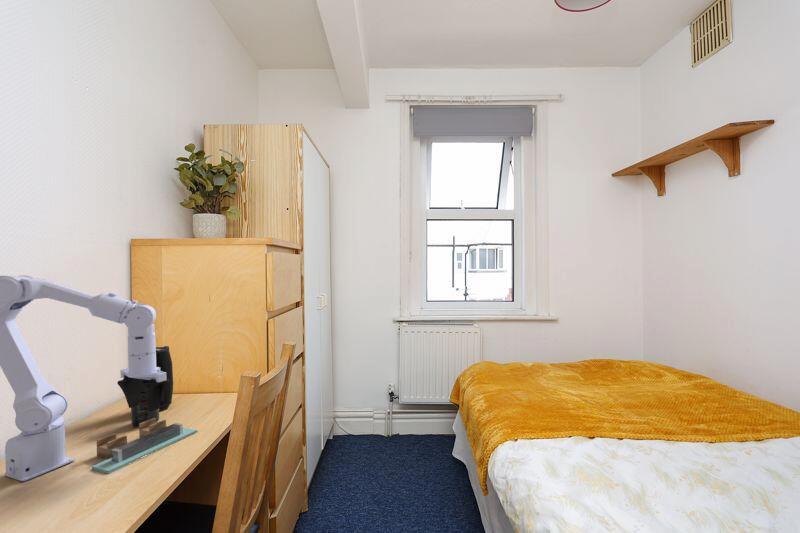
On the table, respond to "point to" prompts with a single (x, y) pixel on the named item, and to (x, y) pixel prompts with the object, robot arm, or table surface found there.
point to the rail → (146, 442)
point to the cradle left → (109, 445)
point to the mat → (111, 466)
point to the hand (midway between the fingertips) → (143, 408)
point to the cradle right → (150, 427)
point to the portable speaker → (166, 366)
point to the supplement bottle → (142, 410)
